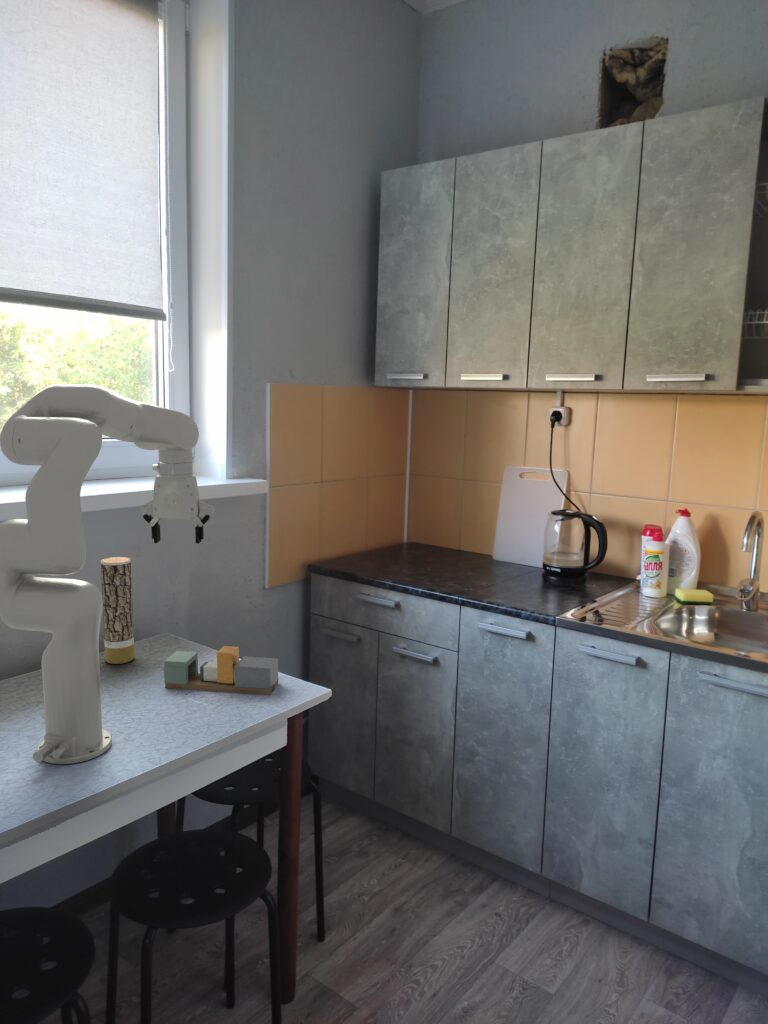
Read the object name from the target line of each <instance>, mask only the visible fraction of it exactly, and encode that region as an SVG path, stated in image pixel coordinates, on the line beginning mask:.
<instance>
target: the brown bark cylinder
mask: <svg viewBox="0 0 768 1024" xmlns="http://www.w3.org/2000/svg"><path fill="white" fill-rule="evenodd" d="M131 560H132V559H131V558H130V557H124V556H116V557H107V558H103V559H101V560H100V575H101V577H100V579H101V595H102V598H103V608H102V618H103V619H102V620H103V624H102V625H103V626H102V627H103V646H104V647H103V648H104V659H105V660H104V661H105V662H106V663H108V664H112V665H121V664H126V663H130V662H131V661H133V660H134V658H135V634H134V609H133V608H134V607H133V606H134V605H133V603H134V602H133V581H132V580H133V579H132V578H133V577H132V576H133V575H132V561H131Z"/></svg>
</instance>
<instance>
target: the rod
mask: <svg viewBox="0 0 768 1024" xmlns="http://www.w3.org/2000/svg"><path fill="white" fill-rule="evenodd" d="M239 647H240V646H231V645H223V646H222V647H221V648H220V649H219V650H218V651H216V662H215V661H214V662H213V661H204V662H203V663H202V664H201V665H200V667H199V673H200V681H214V682H217V683H227V684H233V683H235V665H236V664H237V663H238V662H239V661H240V648H239Z"/></svg>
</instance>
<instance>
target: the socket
mask: <svg viewBox="0 0 768 1024" xmlns="http://www.w3.org/2000/svg"><path fill="white" fill-rule="evenodd" d="M163 661H164V666H163V672H164V673H163V675H164V684H165V683H174V684H187V683H188V674H193V675H196V674H198V673H199V657H198V651H181V650H176V651H174V652H173V653H172V654H171V655H170V656H168V657H167V658H166V659H165V660H163Z"/></svg>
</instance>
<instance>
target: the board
mask: <svg viewBox="0 0 768 1024" xmlns="http://www.w3.org/2000/svg"><path fill="white" fill-rule="evenodd" d="M278 685H279V679H278V680H277V681H276V683H275V684H274V685H273V687H272V688H271V689H256V688H242V687H235V683H233V684H227V683H217V682H214V681H200V672H198V674H196V675H193V674H188V683H187V684H174V683H165V682H164V688H166V689H178V690H193V691H210V692H218V693H219V692H222V693H233V694H234V693H237V694H250V695H265V696H270V695H272V694H273V692H274V691H275V689H276V688H277V686H278Z"/></svg>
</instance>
